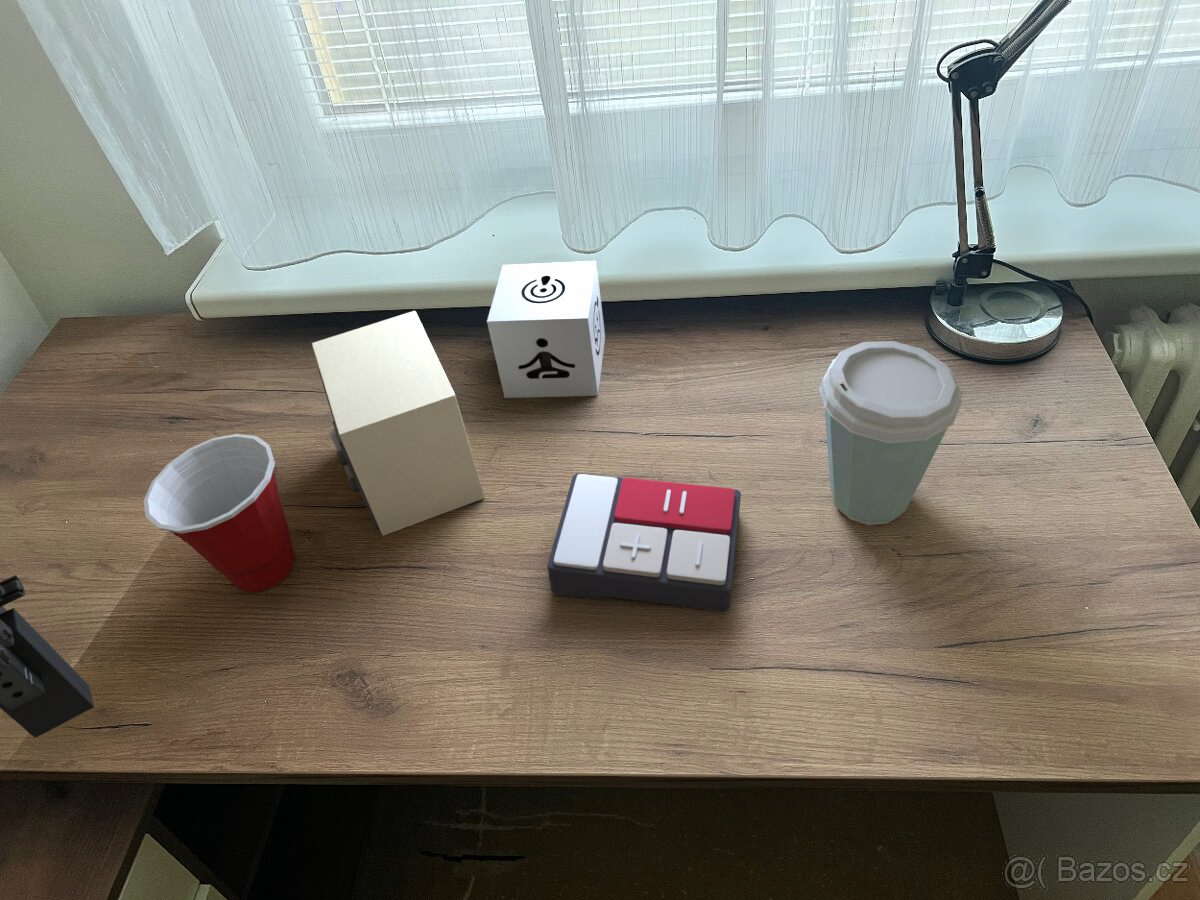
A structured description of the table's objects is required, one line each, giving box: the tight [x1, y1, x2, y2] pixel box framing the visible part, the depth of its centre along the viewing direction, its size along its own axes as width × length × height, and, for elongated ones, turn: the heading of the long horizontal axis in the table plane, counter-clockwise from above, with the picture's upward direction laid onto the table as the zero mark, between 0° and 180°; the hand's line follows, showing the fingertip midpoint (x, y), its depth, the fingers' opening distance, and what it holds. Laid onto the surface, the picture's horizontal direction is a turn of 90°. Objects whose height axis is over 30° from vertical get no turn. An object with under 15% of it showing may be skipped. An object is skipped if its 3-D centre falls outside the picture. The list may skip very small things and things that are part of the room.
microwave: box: [311, 310, 485, 537], centre depth 82 cm, size 11×14×13 cm
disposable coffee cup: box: [818, 340, 963, 526], centre depth 72 cm, size 11×11×15 cm
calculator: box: [547, 472, 742, 612], centre depth 75 cm, size 11×4×15 cm
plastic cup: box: [143, 433, 296, 593], centre depth 75 cm, size 11×11×12 cm
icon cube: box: [486, 260, 606, 399], centre depth 92 cm, size 10×10×10 cm
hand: (62, 710), depth 42 cm, fingers closed
